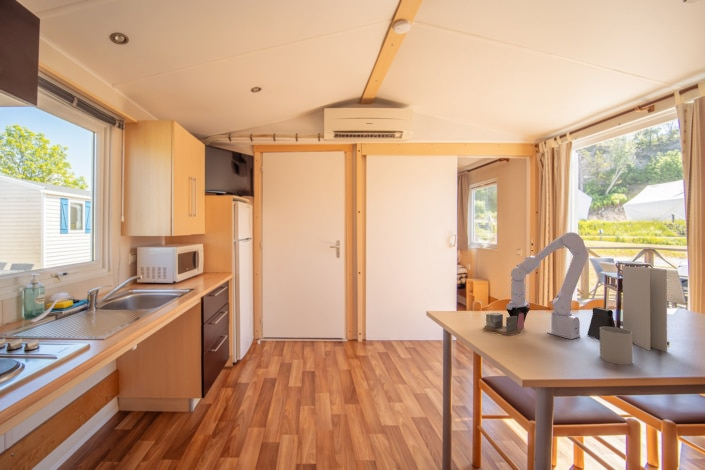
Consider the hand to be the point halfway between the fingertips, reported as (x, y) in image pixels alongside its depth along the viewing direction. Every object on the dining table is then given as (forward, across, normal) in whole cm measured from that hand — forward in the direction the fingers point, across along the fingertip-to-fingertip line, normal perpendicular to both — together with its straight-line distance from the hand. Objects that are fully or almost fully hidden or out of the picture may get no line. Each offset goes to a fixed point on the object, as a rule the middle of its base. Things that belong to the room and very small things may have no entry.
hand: (518, 323), depth 136 cm
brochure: (+2, -23, +36) cm, 43 cm away
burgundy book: (+2, 0, 0) cm, 2 cm away
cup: (+2, +5, +37) cm, 38 cm away
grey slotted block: (+2, +10, -1) cm, 10 cm away
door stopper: (+2, -20, +24) cm, 31 cm away
